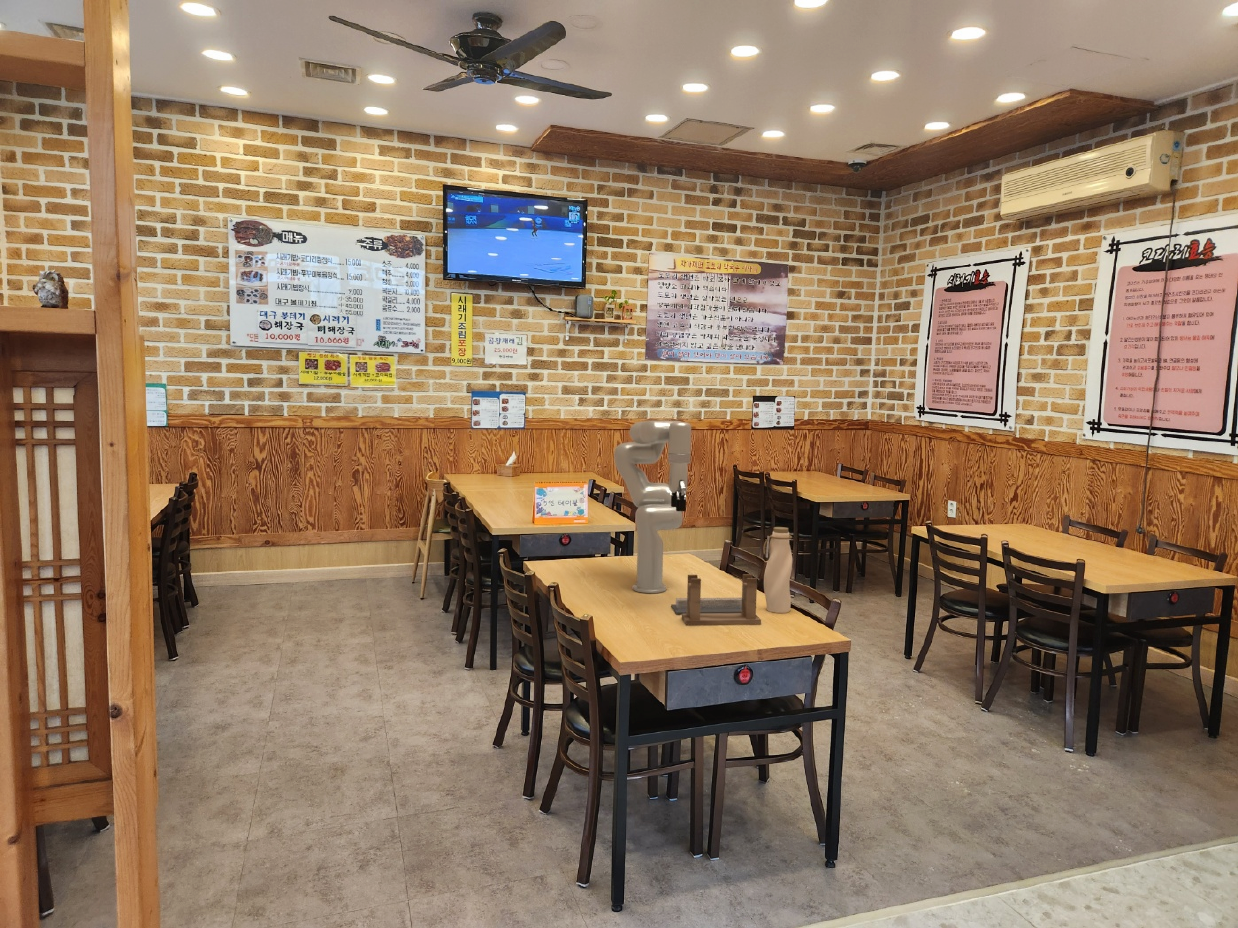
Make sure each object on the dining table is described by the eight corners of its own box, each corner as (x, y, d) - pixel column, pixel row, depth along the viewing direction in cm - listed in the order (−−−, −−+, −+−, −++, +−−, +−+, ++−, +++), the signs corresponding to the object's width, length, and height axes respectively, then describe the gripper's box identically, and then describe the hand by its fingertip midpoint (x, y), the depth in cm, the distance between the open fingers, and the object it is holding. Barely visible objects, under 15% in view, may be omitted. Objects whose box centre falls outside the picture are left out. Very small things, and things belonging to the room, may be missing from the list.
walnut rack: (681, 618, 256) (682, 574, 254) (754, 617, 258) (755, 573, 257) (686, 625, 248) (687, 579, 247) (760, 624, 250) (762, 579, 249)
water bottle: (768, 614, 262) (771, 531, 259) (756, 607, 270) (759, 526, 268) (796, 612, 264) (799, 530, 262) (784, 605, 273) (786, 525, 270)
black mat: (671, 606, 270) (671, 604, 269) (745, 605, 272) (745, 603, 272) (676, 614, 260) (676, 612, 260) (753, 613, 262) (753, 611, 262)
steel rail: (675, 606, 266) (675, 598, 266) (745, 606, 269) (745, 597, 269) (677, 609, 263) (677, 600, 263) (747, 608, 266) (748, 599, 266)
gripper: (664, 456, 275) (663, 505, 277) (672, 460, 258) (671, 512, 260) (685, 456, 276) (684, 505, 278) (695, 461, 259) (694, 512, 261)
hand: (678, 508), depth 269 cm, fingers open, 9 cm apart
